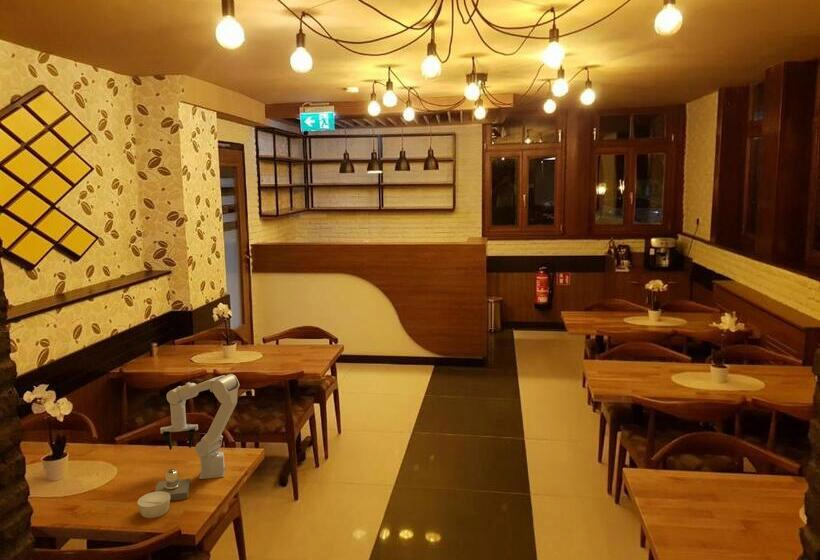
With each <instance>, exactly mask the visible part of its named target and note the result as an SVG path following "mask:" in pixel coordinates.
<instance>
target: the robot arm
mask: <svg viewBox="0 0 820 560" xmlns="http://www.w3.org/2000/svg"><path fill="white" fill-rule="evenodd" d="M240 386H241V385H240V382H239V380H238V378H237V376H236V375H234V374H233V373H228V374H226V375H225V374H224V375H220V376H216V377H213V378H210V379H207V380H205V381H203V382H202V381H201V382H199V383H195V382H189V381H188V382H186V383H185V385H179V386H176V387H175V388H174V389H171V390H169V391H168V392H167V393H166V400H167V402H168V403H169V405H170V409H169V410H170V421H171V423H170V424H171V425H168V426H163V427H160V431H159V433H160V434H163V435H162V437H163V438H164V440H165V441H166V443H167V445H168V448H169V450H170V451H171V450H172V449H173V443H172V433H177V432H187V431H188V433H187V434H188V435H187V436H188V448H189V449H191V448H192V443H193V438H194V435H195V433H196V431H198V430H199V424H197V423H196V424H191V423H187V415H186V402H187V400H189V399H192V398H195V397H197V396H199V393H200V392H204V391H208V390H209V392H211V393H213V394H214V396H215V398H216V399H217V400H218V402H219V403H220V405H219V408H218V410H217V412H216V414H215V416H214V418H213V420H212V422H211V425H210V427H209V428H208V431H207V433H206V434H205V435H203V437H202V438H201V439H200V441H198V442H197V443H196V445H195V448H194V449H195V452H196V454H197V456H198V457H199V460H200V474H199V477H198V478H199V480H207V479H215V478H224V477H225V470H226V464H225V454H224V451H222V452H221V451H220V448H221V447H222V446H223V445H222V444H223V438H224V436H223V435H222V434H223V432H224V430H225V427H227V424H228V422H229V420H230V418H231V417H232V414H233V413H234V410H235V409H236V406H237V403H238V390H239V388H240Z"/></svg>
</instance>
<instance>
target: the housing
mask: <svg viewBox="0 0 820 560" xmlns="http://www.w3.org/2000/svg"><path fill="white" fill-rule="evenodd" d="M164 475H165V481H166V485H165V489H167V490H173V489H176V488H178V487H179V483H178V480H179V474H178V470H177V469H174V468H170V469H168V470H167V471H165V474H164Z"/></svg>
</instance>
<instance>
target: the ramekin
mask: <svg viewBox="0 0 820 560" xmlns="http://www.w3.org/2000/svg"><path fill="white" fill-rule="evenodd" d="M136 503H137V507H138V510H139V513H140V515H141V516H142V518H147V519H155V518H160V517H162V516H164V515H165V514H166V513H168V511H169V509H170V503H171V501H170V494H169V493H167V492H162V491H158V492H155V491H153V492H148V493H146V494H144V495H142V496H141V497H140V498H138V500H137V502H136Z"/></svg>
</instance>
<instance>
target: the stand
mask: <svg viewBox="0 0 820 560" xmlns="http://www.w3.org/2000/svg"><path fill="white" fill-rule="evenodd" d="M178 483H179V487H178V488H176V489H173V490H167V489H165V485H166V480H163V481H161V480H160V481H157V484H156V487H155V490H154V492H158V491H162V492H167V493H169V494H170V502H171V501H179V500H180V499H181V500H187V499H189V498H188V497H189V494H190V490H189V489H191V484H192V482H191V478H190V477H189V478H180V479H179V478H178ZM188 493H189V494H188Z"/></svg>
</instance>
